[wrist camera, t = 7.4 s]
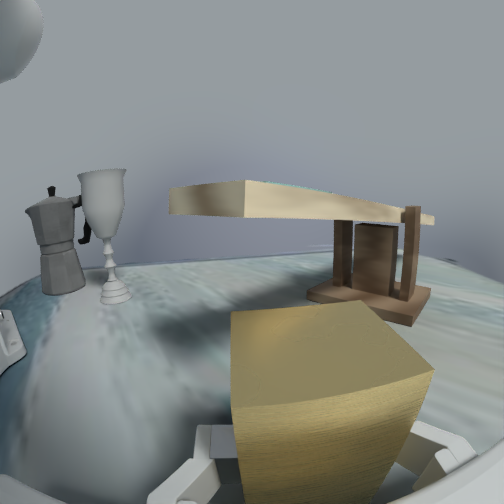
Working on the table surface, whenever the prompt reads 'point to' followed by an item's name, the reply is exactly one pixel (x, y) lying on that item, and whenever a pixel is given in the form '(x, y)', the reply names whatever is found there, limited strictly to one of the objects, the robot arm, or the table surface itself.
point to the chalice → (105, 221)
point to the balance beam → (278, 203)
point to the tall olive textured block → (320, 402)
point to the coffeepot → (58, 243)
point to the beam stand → (376, 269)
